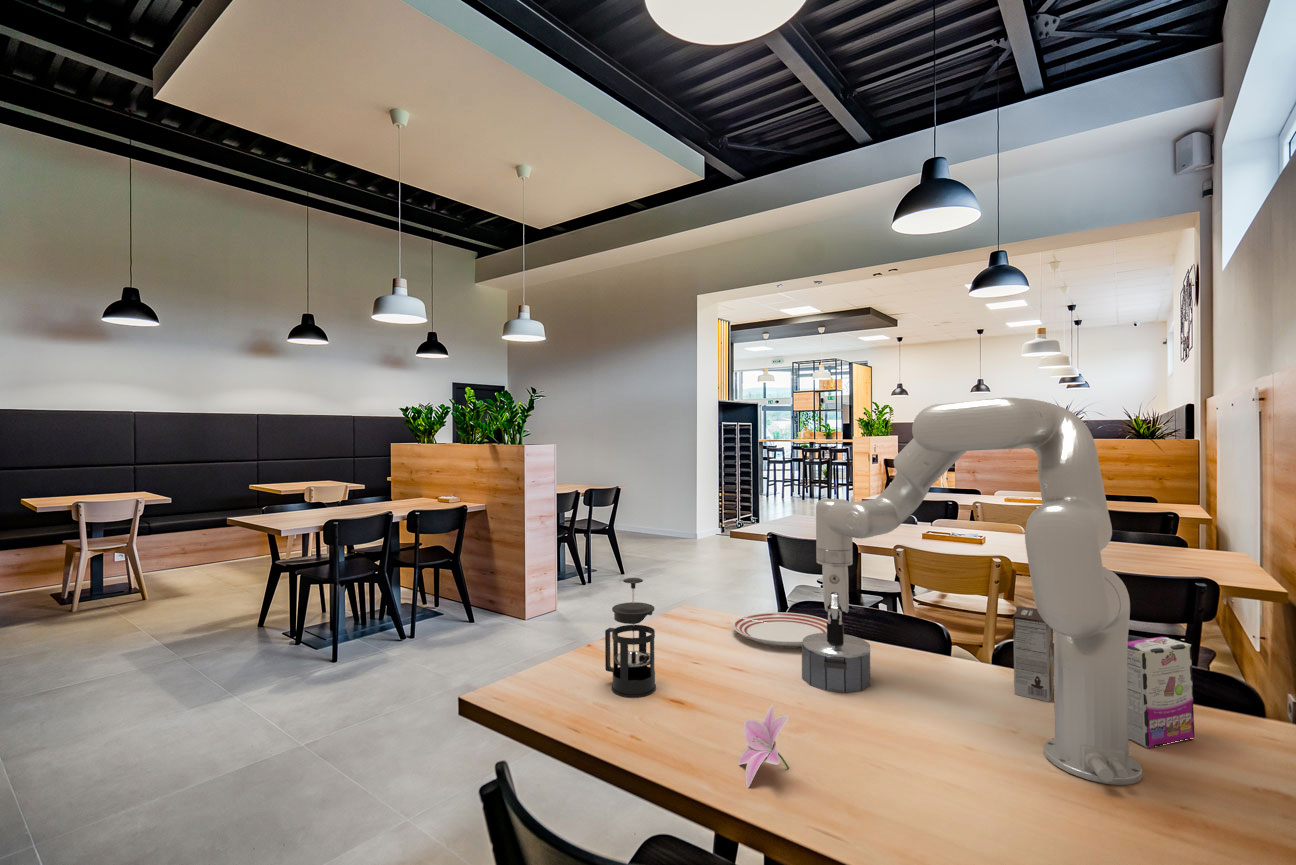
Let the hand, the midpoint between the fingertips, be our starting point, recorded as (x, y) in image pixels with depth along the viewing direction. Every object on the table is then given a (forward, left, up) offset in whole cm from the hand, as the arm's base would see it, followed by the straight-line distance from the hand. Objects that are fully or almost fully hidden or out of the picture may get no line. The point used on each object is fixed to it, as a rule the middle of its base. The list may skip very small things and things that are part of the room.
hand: (835, 635), depth 131 cm
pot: (0, 0, -9) cm, 9 cm away
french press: (-17, +41, -10) cm, 45 cm away
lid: (0, 0, -3) cm, 3 cm away
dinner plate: (+26, +13, -10) cm, 31 cm away
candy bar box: (-11, -53, -10) cm, 55 cm away
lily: (-41, +11, -10) cm, 44 cm away
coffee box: (+5, -39, -10) cm, 40 cm away
